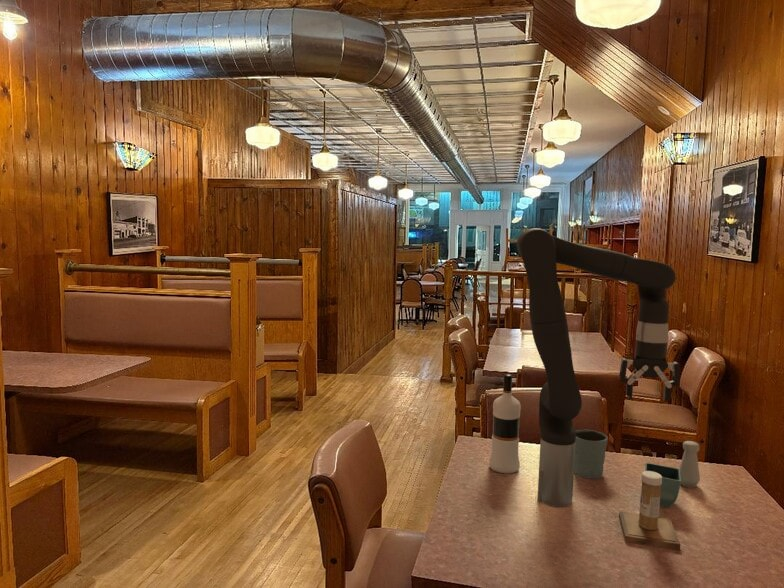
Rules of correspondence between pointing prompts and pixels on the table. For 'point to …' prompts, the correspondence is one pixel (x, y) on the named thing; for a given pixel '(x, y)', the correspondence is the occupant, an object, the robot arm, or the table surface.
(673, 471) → the flower pot
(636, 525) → the brown rectangular tray
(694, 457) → the salt shaker
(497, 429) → the vodka
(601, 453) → the green round cup
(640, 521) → the sprinkles bottle
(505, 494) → the table surface
